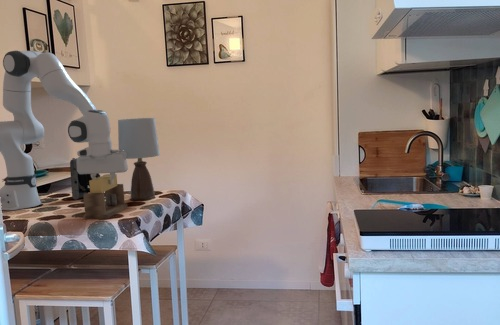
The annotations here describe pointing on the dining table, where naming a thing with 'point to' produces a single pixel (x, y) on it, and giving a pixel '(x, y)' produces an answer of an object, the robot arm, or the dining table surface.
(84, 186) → the vintage camera
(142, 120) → the lamp
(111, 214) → the brown u-shaped block
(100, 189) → the plank
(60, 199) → the dining table surface
